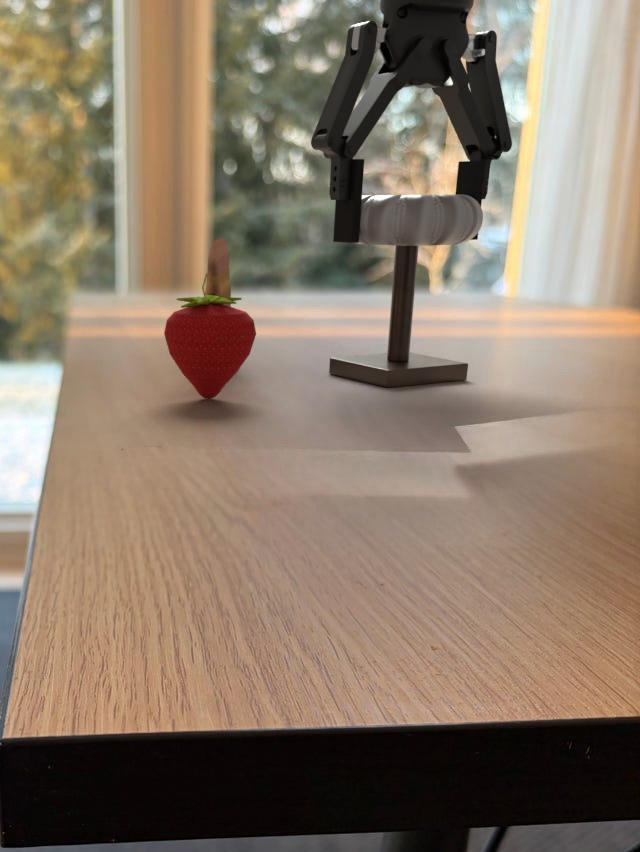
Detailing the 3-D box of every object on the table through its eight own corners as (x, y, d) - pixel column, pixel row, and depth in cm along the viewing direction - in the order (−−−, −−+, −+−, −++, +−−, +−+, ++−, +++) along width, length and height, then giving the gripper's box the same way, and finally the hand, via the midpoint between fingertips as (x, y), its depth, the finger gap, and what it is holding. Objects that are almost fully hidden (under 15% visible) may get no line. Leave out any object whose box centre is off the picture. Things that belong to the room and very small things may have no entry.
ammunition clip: (213, 362, 107) (214, 236, 103) (231, 363, 107) (233, 236, 102) (201, 379, 97) (202, 241, 93) (221, 380, 97) (223, 241, 93)
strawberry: (252, 406, 85) (256, 275, 81) (160, 404, 86) (159, 275, 82) (255, 393, 90) (259, 270, 87) (168, 392, 91) (168, 270, 87)
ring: (417, 239, 101) (421, 194, 100) (509, 244, 91) (515, 194, 90) (309, 242, 96) (311, 195, 95) (393, 247, 86) (397, 194, 85)
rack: (404, 367, 104) (417, 208, 98) (466, 380, 96) (485, 208, 91) (328, 373, 100) (337, 209, 95) (387, 387, 93) (401, 210, 87)
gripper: (512, -22, 93) (484, 236, 102) (276, -47, 83) (266, 242, 92) (577, -38, 87) (541, 239, 96) (330, -67, 77) (314, 245, 86)
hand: (406, 241), depth 94 cm, fingers closed on ring, 12 cm apart
